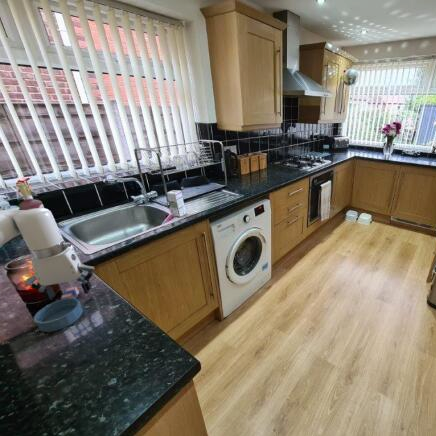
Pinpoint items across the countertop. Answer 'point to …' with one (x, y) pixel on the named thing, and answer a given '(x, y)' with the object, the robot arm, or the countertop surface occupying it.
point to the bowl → (58, 315)
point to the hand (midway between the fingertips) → (70, 294)
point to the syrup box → (176, 203)
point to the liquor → (28, 199)
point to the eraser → (70, 293)
